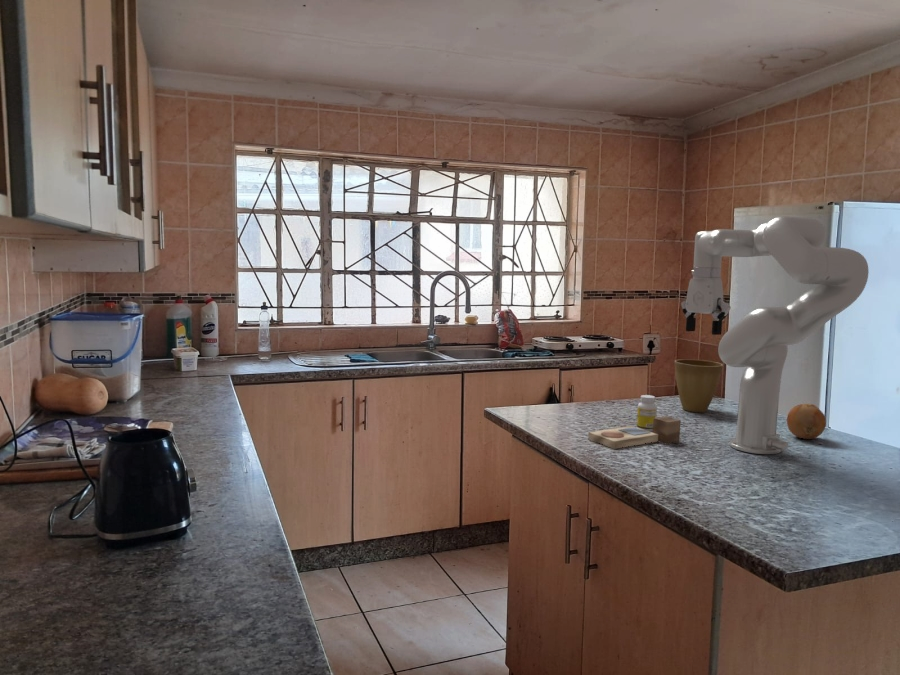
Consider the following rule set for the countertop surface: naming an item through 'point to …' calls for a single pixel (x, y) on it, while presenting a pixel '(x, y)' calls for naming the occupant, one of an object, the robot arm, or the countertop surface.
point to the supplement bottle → (646, 412)
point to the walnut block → (667, 429)
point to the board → (623, 437)
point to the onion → (806, 421)
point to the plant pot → (697, 383)
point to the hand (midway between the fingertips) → (703, 332)
